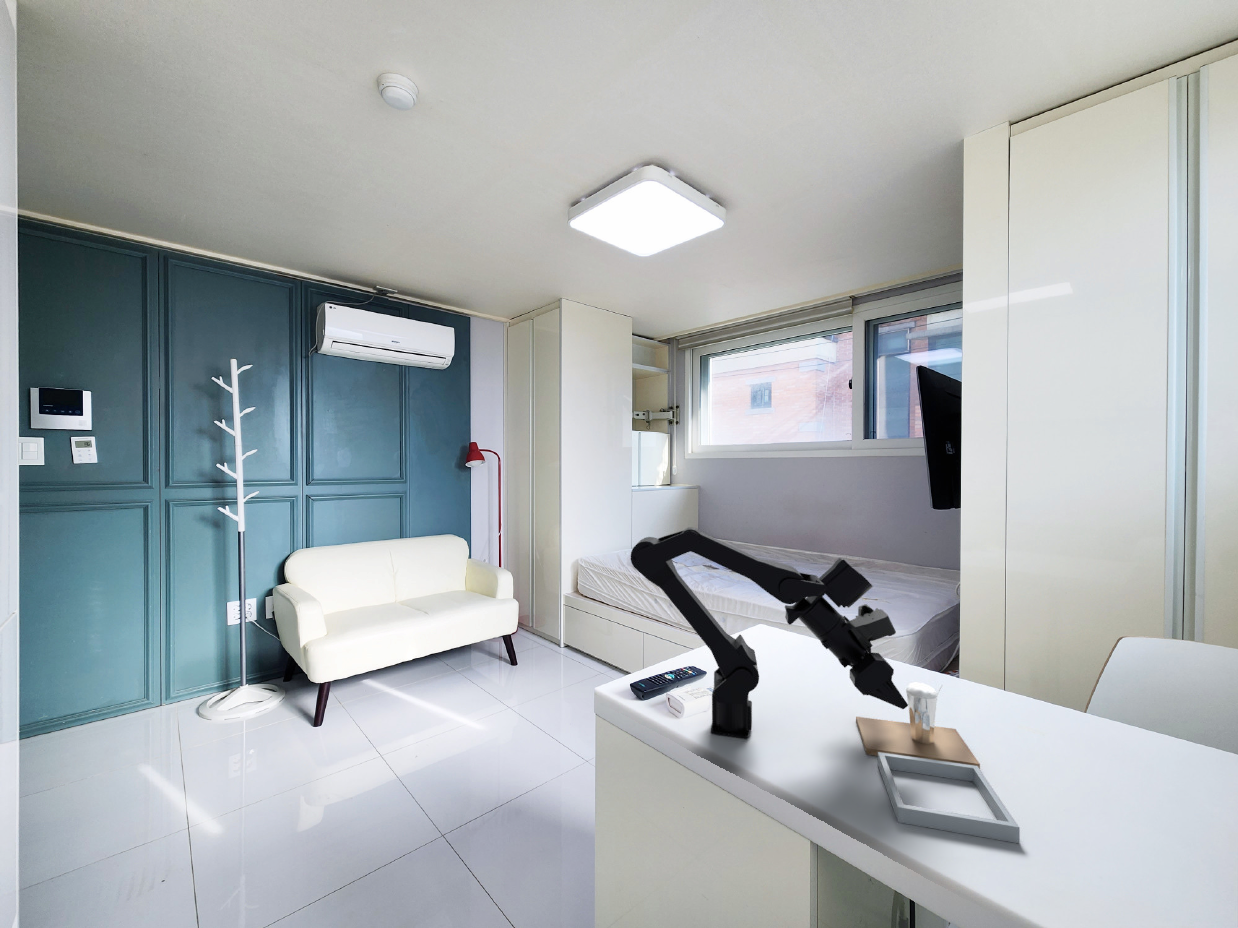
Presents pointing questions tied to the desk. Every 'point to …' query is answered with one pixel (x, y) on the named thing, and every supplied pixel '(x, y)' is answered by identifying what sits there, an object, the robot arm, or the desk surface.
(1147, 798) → the desk surface
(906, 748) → the board
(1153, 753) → the desk surface
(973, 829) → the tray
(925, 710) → the milkshake
